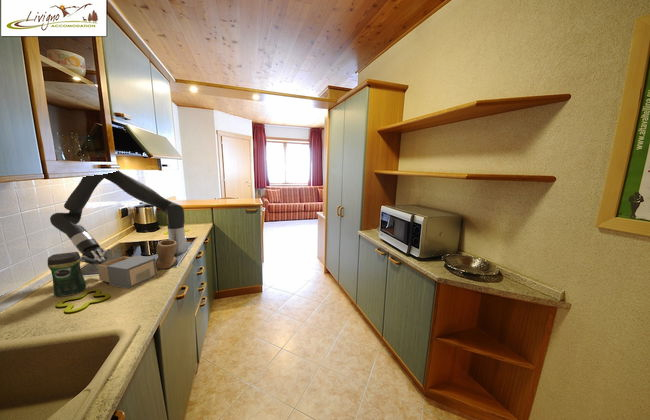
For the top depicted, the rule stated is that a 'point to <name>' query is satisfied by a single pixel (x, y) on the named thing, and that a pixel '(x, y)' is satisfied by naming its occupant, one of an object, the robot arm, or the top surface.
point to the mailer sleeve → (120, 271)
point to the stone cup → (166, 254)
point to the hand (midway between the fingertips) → (106, 267)
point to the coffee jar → (66, 273)
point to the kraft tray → (135, 273)
